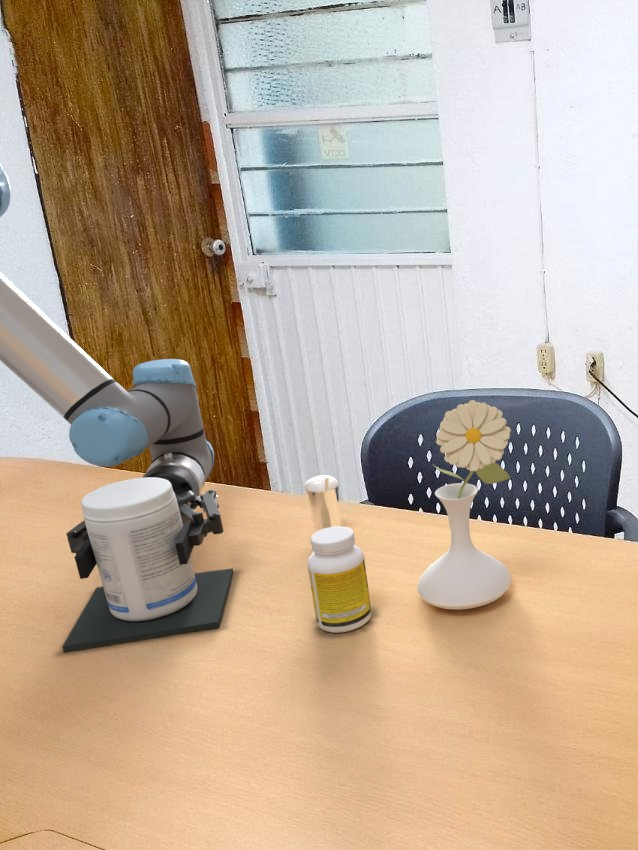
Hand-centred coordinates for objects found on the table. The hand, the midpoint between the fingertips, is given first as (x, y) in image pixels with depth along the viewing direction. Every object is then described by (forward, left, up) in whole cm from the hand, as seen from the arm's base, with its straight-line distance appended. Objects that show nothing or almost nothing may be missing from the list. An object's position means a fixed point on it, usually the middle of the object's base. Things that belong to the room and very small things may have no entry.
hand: (131, 560), depth 93 cm
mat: (0, +4, -9) cm, 10 cm away
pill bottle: (+22, -6, -9) cm, 24 cm away
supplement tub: (0, +4, -8) cm, 9 cm away
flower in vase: (+37, -5, -9) cm, 38 cm away
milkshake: (+20, +18, -9) cm, 29 cm away
